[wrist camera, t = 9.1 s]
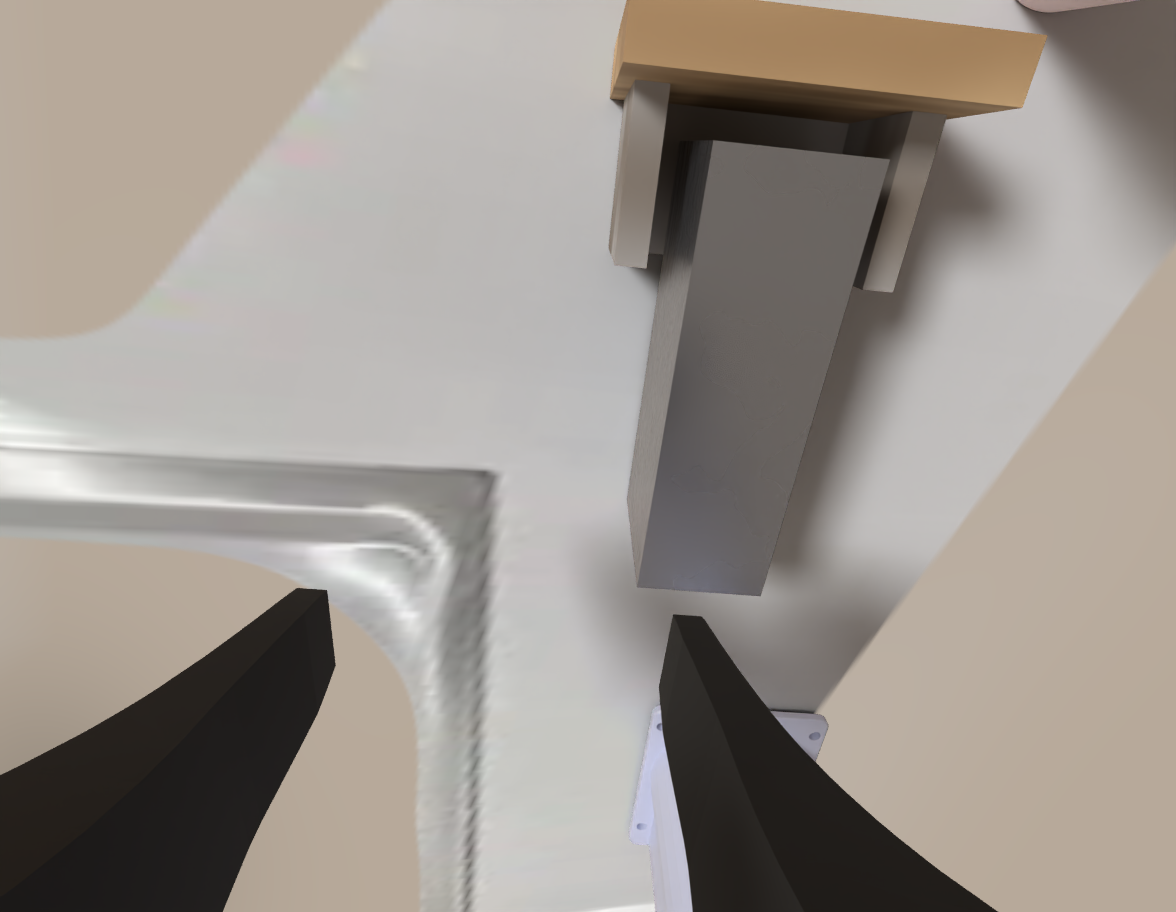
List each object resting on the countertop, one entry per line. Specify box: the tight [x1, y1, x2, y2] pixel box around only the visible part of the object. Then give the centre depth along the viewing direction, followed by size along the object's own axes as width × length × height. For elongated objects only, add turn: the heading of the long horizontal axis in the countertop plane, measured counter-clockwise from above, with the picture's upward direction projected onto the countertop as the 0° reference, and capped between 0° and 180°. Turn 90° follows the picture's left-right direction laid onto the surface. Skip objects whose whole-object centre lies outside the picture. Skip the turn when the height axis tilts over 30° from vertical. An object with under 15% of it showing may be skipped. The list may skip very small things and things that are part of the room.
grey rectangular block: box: [627, 140, 890, 596], centre depth 18 cm, size 12×4×5 cm, turn 175°
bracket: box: [609, 0, 1048, 293], centre depth 15 cm, size 5×8×6 cm, turn 85°
